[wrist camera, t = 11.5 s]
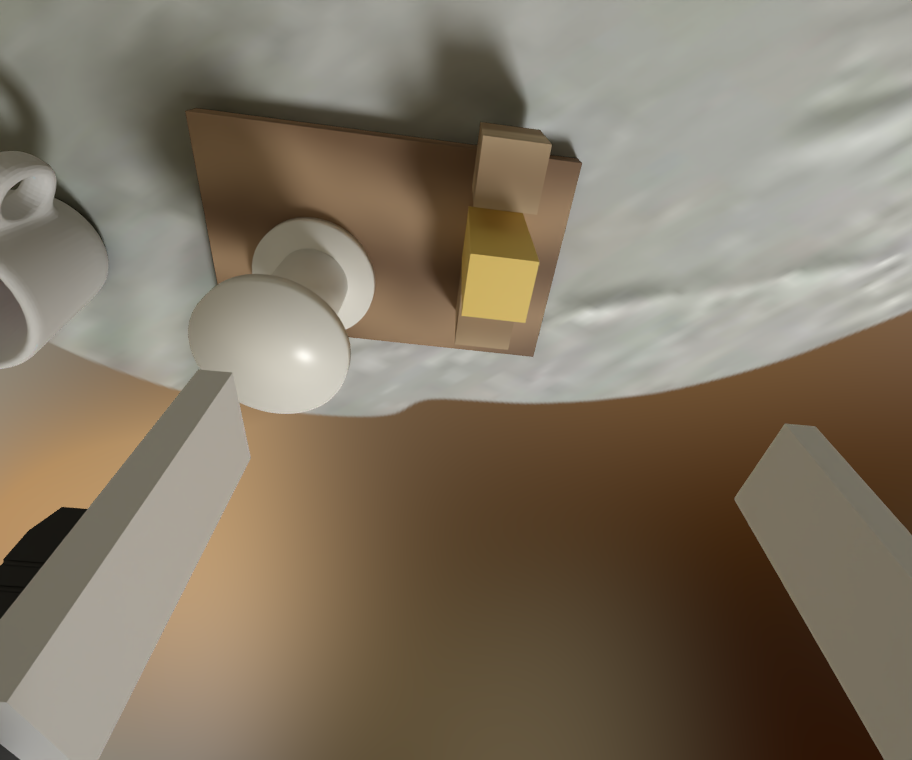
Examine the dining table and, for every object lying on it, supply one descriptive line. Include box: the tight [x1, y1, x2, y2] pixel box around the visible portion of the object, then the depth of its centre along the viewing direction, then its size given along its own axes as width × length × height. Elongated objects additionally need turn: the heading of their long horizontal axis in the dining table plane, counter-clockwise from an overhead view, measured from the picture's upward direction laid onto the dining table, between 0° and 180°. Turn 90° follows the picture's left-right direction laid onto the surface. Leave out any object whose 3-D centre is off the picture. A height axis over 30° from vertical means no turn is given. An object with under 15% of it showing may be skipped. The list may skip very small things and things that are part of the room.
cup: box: [0, 151, 109, 369], centre depth 25 cm, size 11×8×8 cm
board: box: [185, 108, 582, 357], centre depth 26 cm, size 13×20×5 cm, turn 83°
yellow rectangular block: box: [462, 206, 539, 323], centre depth 24 cm, size 3×3×7 cm
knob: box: [188, 217, 376, 414], centre depth 25 cm, size 7×7×9 cm
